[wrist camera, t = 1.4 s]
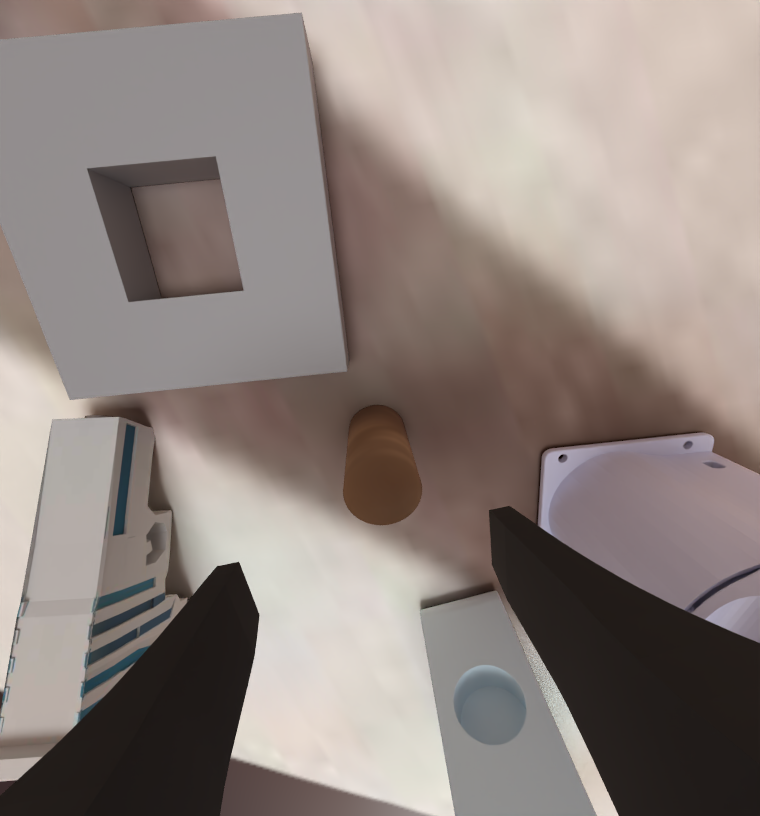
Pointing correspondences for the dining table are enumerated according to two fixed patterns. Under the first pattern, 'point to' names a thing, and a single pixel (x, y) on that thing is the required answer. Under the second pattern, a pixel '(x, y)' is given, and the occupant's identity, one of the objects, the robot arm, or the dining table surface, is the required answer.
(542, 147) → the dining table surface
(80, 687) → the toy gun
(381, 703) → the dining table surface
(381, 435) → the peg
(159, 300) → the socket plate
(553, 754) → the guitar pedal
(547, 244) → the dining table surface
